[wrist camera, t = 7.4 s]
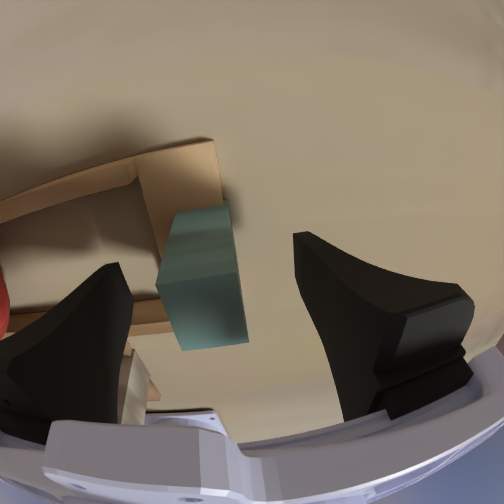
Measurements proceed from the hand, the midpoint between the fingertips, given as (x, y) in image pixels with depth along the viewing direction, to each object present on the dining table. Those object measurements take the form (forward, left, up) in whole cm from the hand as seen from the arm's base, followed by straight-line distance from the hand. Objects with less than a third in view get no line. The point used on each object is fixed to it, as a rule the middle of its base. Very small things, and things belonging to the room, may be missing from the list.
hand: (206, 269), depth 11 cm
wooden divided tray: (0, +9, -3) cm, 9 cm away
